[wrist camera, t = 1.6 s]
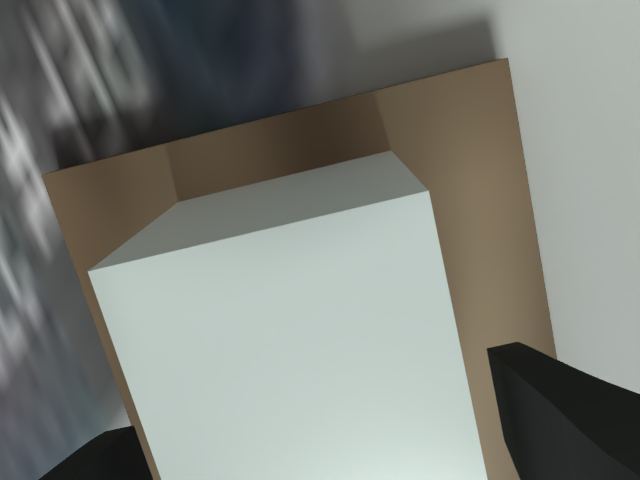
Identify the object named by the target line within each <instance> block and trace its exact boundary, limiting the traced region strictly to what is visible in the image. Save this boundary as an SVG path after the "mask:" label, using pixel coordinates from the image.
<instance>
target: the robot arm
mask: <svg viewBox="0 0 640 480" xmlns="http://www.w3.org/2000/svg"><path fill="white" fill-rule="evenodd" d="M486 349H487V354H488V359H489V364H490V370H491V375H492V380H493V385H494V390H495V395H496V401H497V406H498V411H499V416H500V421H501V427H502V432H503V437H504V441H505V444H506V446H507V448H508V451H509V453H510V456H511V458H512V461H513V463H514V466H515V468H516V471H517V473H518V475H519V478H520V480H640V394H638V393H635V392H632V391H629V390H627V389H624V388H621V387H619V386H616V385H614V384H611V383H608V382H606V381H603V380H601V379H598V378H596V377H594V376H591V375H589V374H587V373H584V372H582V371H580V370H578V369H575V368H573V367H571V366H569V365H567V364H565V363H563V362H560V361H558V360H556V359H554V358H552V357H550V356H548V355H546V354H544V353H542V352H540V351H538V350H536V349H534V348H532V347H529V346H527V345H525V344H523V343H520V342H514V343H509V344H504V345H500V346H495V347H491V348H486ZM39 480H153V477H152V474H151V472H150V469H149V466H148V463H147V460H146V458H145V455H144V452H143V449H142V447H141V444H140V441H139V438H138V435H137V433H136V430H135V427H134V425H133V426H129V427H124V428H120V429H115V430H110V431H106V432H104V433H102V434H100V435H99V436H97V437H95V438H94V439H92V440H91V441H89V442H88V443H86V444H85V445H84V446H82V447H81V448H79V449H78V450H77V451H75V452H74V453H73V454H71V455H70V456H69V457H67V458H66V459H65V460H63V461H62V462H61V463H60V464H58V465H57V466H56V467H54V468H53V469H52V470H50V471H49V472H48V473H47V474H45V475H44V476H43V477H41V478H40V479H39Z"/></svg>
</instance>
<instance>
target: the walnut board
mask: <svg viewBox="0 0 640 480" xmlns="http://www.w3.org/2000/svg"><path fill="white" fill-rule="evenodd" d="M390 150H391V151H392V152H393V153H394V154H395V155H396V156H397V157H398V158H399V159H400V161H401V162H402V163H403V164H404V165H405V166H406V167H407V168H408V169H409V170H410V171H411V172H412V173H413V174H414V175H415V177H416V178H417V179H418V180H419V181H420V182H421V183H422V184H423V185H424V186H425V187H426V188H427V189H428V190H429V194H430V199H431V204H432V209H433V214H434V219H435V224H436V229H437V234H438V239H439V244H440V248H441V253H442V258H443V263H444V268H445V273H446V278H447V283H448V288H449V293H450V297H451V302H452V307H453V312H454V317H455V322H456V327H457V332H458V337H459V342H460V347H461V351H462V356H463V361H464V366H465V371H466V376H467V381H468V386H469V391H470V396H471V400H472V405H473V410H474V415H475V420H476V425H477V430H478V435H479V440H480V445H481V450H482V454H483V459H484V464H485V469H486V474H487V479H488V480H520V478H519V475H518V473H517V471H516V468H515V466H514V463H513V461H512V458H511V456H510V453H509V451H508V448H507V446H506V444H505V441H504V437H503V432H502V427H501V421H500V416H499V411H498V406H497V401H496V395H495V390H494V385H493V380H492V375H491V370H490V364H489V359H488V354H487V349H486V348H491V347H495V346H500V345H504V344H509V343H514V342H520V343H523V344H525V345H527V346H529V347H532V348H534V349H536V350H538V351H540V352H542V353H544V354H546V355H548V356H550V357H552V358H554V359H556V360H557V356H556V350H555V344H554V338H553V332H552V326H551V320H550V313H549V307H548V301H547V295H546V289H545V283H544V277H543V270H542V264H541V258H540V252H539V246H538V240H537V234H536V227H535V221H534V215H533V209H532V203H531V197H530V191H529V184H528V178H527V172H526V166H525V160H524V154H523V148H522V141H521V135H520V129H519V123H518V117H517V111H516V105H515V99H514V92H513V86H512V80H511V74H510V68H509V62H508V58H504V59H498V60H493V61H489V62H485V63H481V64H477V65H473V66H469V67H465V68H461V69H457V70H454V71H450V72H446V73H442V74H438V75H434V76H430V77H426V78H422V79H418V80H414V81H410V82H406V83H402V84H398V85H394V86H390V87H386V88H382V89H378V90H374V91H370V92H366V93H362V94H358V95H354V96H350V97H346V98H342V99H338V100H334V101H330V102H326V103H322V104H318V105H314V106H310V107H306V108H302V109H298V110H294V111H290V112H286V113H282V114H278V115H274V116H270V117H266V118H262V119H258V120H255V121H251V122H247V123H243V124H239V125H235V126H231V127H227V128H223V129H219V130H215V131H211V132H207V133H203V134H199V135H195V136H191V137H187V138H183V139H179V140H175V141H171V142H167V143H163V144H159V145H155V146H151V147H147V148H143V149H139V150H135V151H131V152H127V153H123V154H119V155H115V156H111V157H107V158H103V159H99V160H95V161H91V162H87V163H83V164H79V165H75V166H71V167H67V168H63V169H59V170H56V171H53V172H50V173H46V174H43V175H42V178H43V181H44V183H45V186H46V189H47V192H48V195H49V197H50V200H51V203H52V206H53V208H54V211H55V214H56V217H57V220H58V222H59V225H60V228H61V231H62V233H63V236H64V239H65V242H66V245H67V247H68V250H69V253H70V256H71V259H72V261H73V264H74V267H75V270H76V272H77V275H78V278H79V281H80V284H81V286H82V289H83V292H84V295H85V297H86V300H87V303H88V306H89V309H90V311H91V314H92V317H93V320H94V323H95V325H96V328H97V331H98V334H99V336H100V339H101V342H102V345H103V348H104V350H105V353H106V356H107V359H108V361H109V364H110V367H111V370H112V373H113V375H114V378H115V381H116V384H117V387H118V389H119V392H120V395H121V398H122V400H123V403H124V406H125V409H126V412H127V414H128V417H129V420H130V423H131V425H132V426H133V425H134V427H135V430H136V433H137V435H138V438H139V441H140V444H141V447H142V449H143V452H144V455H145V458H146V460H147V463H148V466H149V469H150V472H151V474H152V477H153V480H161V477H160V475H159V472H158V469H157V466H156V463H155V460H154V458H153V455H152V452H151V449H150V446H149V443H148V441H147V438H146V435H145V432H144V429H143V427H142V424H141V421H140V418H139V415H138V412H137V410H136V407H135V404H134V401H133V398H132V396H131V393H130V390H129V387H128V384H127V381H126V379H125V376H124V373H123V370H122V367H121V365H120V362H119V359H118V356H117V353H116V350H115V348H114V345H113V342H112V339H111V336H110V334H109V331H108V328H107V325H106V322H105V319H104V317H103V314H102V311H101V308H100V305H99V302H98V300H97V297H96V294H95V291H94V288H93V286H92V283H91V280H90V277H89V274H88V271H89V270H90V269H91V268H93V267H94V266H95V265H97V264H98V263H99V262H101V261H102V260H103V259H105V258H106V257H107V256H108V255H110V254H111V253H112V252H114V251H115V250H116V249H118V248H119V247H120V246H121V245H123V244H124V243H125V242H127V241H128V240H129V239H131V238H132V237H133V236H135V235H136V234H137V233H138V232H140V231H141V230H142V229H144V228H145V227H146V226H148V225H149V224H150V223H151V222H153V221H154V220H155V219H157V218H158V217H159V216H161V215H162V214H163V213H165V212H166V211H167V210H168V209H170V208H171V207H172V206H174V205H175V204H176V203H178V202H181V201H185V200H189V199H193V198H197V197H201V196H205V195H209V194H213V193H218V192H222V191H226V190H230V189H234V188H238V187H242V186H246V185H250V184H255V183H259V182H263V181H267V180H271V179H275V178H279V177H283V176H287V175H292V174H296V173H300V172H304V171H308V170H312V169H316V168H320V167H324V166H329V165H333V164H337V163H341V162H345V161H349V160H353V159H357V158H361V157H366V156H370V155H374V154H378V153H382V152H386V151H390Z"/></svg>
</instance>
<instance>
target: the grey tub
mask: <svg viewBox="0 0 640 480" xmlns="http://www.w3.org/2000/svg"><path fill="white" fill-rule="evenodd" d="M88 274H89V277H90V280H91V283H92V286H93V288H94V291H95V294H96V297H97V300H98V302H99V305H100V308H101V311H102V314H103V317H104V319H105V322H106V325H107V328H108V331H109V334H110V336H111V339H112V342H113V345H114V348H115V350H116V353H117V356H118V359H119V362H120V365H121V367H122V370H123V373H124V376H125V379H126V381H127V384H128V387H129V390H130V393H131V396H132V398H133V401H134V404H135V407H136V410H137V412H138V415H139V418H140V421H141V424H142V427H143V429H144V432H145V435H146V438H147V441H148V443H149V446H150V449H151V452H152V455H153V458H154V460H155V463H156V466H157V469H158V472H159V475H160V477H161V480H488V479H487V474H486V469H485V464H484V459H483V454H482V450H481V445H480V440H479V435H478V430H477V425H476V420H475V415H474V410H473V405H472V400H471V396H470V391H469V386H468V381H467V376H466V371H465V366H464V361H463V356H462V351H461V347H460V342H459V337H458V332H457V327H456V322H455V317H454V312H453V307H452V302H451V297H450V293H449V288H448V283H447V278H446V273H445V268H444V263H443V258H442V253H441V248H440V244H439V239H438V234H437V229H436V224H435V219H434V214H433V209H432V204H431V199H430V194H429V190H428V189H427V188H426V187H425V186H424V185H423V184H422V183H421V182H420V181H419V180H418V179H417V178H416V177H415V175H414V174H413V173H412V172H411V171H410V170H409V169H408V168H407V167H406V166H405V165H404V164H403V163H402V162H401V161H400V159H399V158H398V157H397V156H396V155H395V154H394V153H393V152H392V151H391V150H390V151H386V152H382V153H378V154H374V155H370V156H366V157H361V158H357V159H353V160H349V161H345V162H341V163H337V164H333V165H329V166H324V167H320V168H316V169H312V170H308V171H304V172H300V173H296V174H292V175H287V176H283V177H279V178H275V179H271V180H267V181H263V182H259V183H255V184H250V185H246V186H242V187H238V188H234V189H230V190H226V191H222V192H218V193H213V194H209V195H205V196H201V197H197V198H193V199H189V200H185V201H181V202H178V203H176V204H175V205H174V206H172V207H171V208H170V209H168V210H167V211H166V212H165V213H163V214H162V215H161V216H159V217H158V218H157V219H155V220H154V221H153V222H151V223H150V224H149V225H148V226H146V227H145V228H144V229H142V230H141V231H140V232H138V233H137V234H136V235H135V236H133V237H132V238H131V239H129V240H128V241H127V242H125V243H124V244H123V245H121V246H120V247H119V248H118V249H116V250H115V251H114V252H112V253H111V254H110V255H108V256H107V257H106V258H105V259H103V260H102V261H101V262H99V263H98V264H97V265H95V266H94V267H93V268H91V269H90V270H89V271H88Z"/></svg>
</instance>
